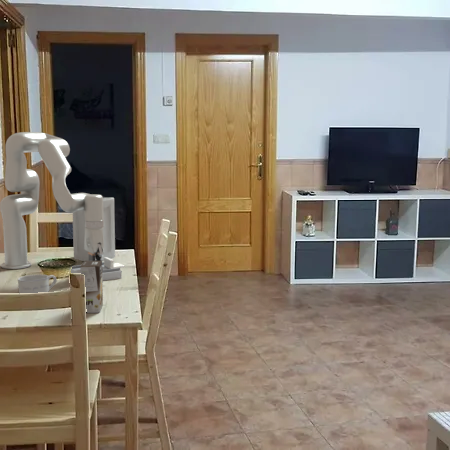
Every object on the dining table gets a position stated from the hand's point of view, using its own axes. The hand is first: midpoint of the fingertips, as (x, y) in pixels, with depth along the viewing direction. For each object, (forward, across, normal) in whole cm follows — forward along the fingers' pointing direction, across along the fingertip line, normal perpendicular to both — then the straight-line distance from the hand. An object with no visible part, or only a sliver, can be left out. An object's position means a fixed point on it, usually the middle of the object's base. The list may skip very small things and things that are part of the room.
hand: (95, 268), depth 261 cm
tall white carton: (+4, -32, +13) cm, 35 cm away
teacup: (+4, +19, -30) cm, 36 cm away
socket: (+4, 0, 0) cm, 4 cm away
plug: (+2, 0, 0) cm, 2 cm away
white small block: (0, 0, +8) cm, 9 cm away
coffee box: (+4, +43, -19) cm, 47 cm away
